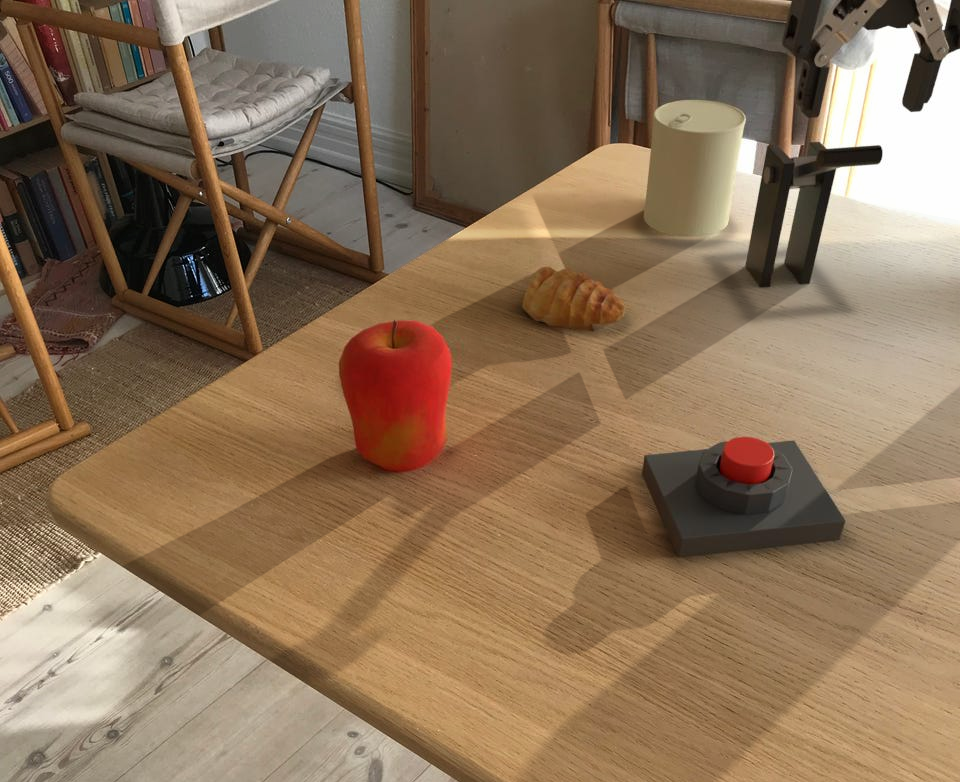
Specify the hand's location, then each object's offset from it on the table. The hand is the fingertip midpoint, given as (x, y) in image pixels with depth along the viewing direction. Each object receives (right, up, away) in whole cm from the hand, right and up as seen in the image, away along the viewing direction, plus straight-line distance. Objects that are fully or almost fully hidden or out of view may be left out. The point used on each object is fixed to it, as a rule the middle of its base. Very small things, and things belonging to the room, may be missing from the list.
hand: (860, 111), depth 82 cm
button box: (-11, -32, -4) cm, 34 cm away
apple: (-36, -27, +1) cm, 45 cm away
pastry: (-22, -11, +17) cm, 29 cm away
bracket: (-1, -7, +20) cm, 21 cm away
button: (-11, -30, -7) cm, 32 cm away
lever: (-1, -2, +8) cm, 8 cm away
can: (-8, +2, +29) cm, 30 cm away
